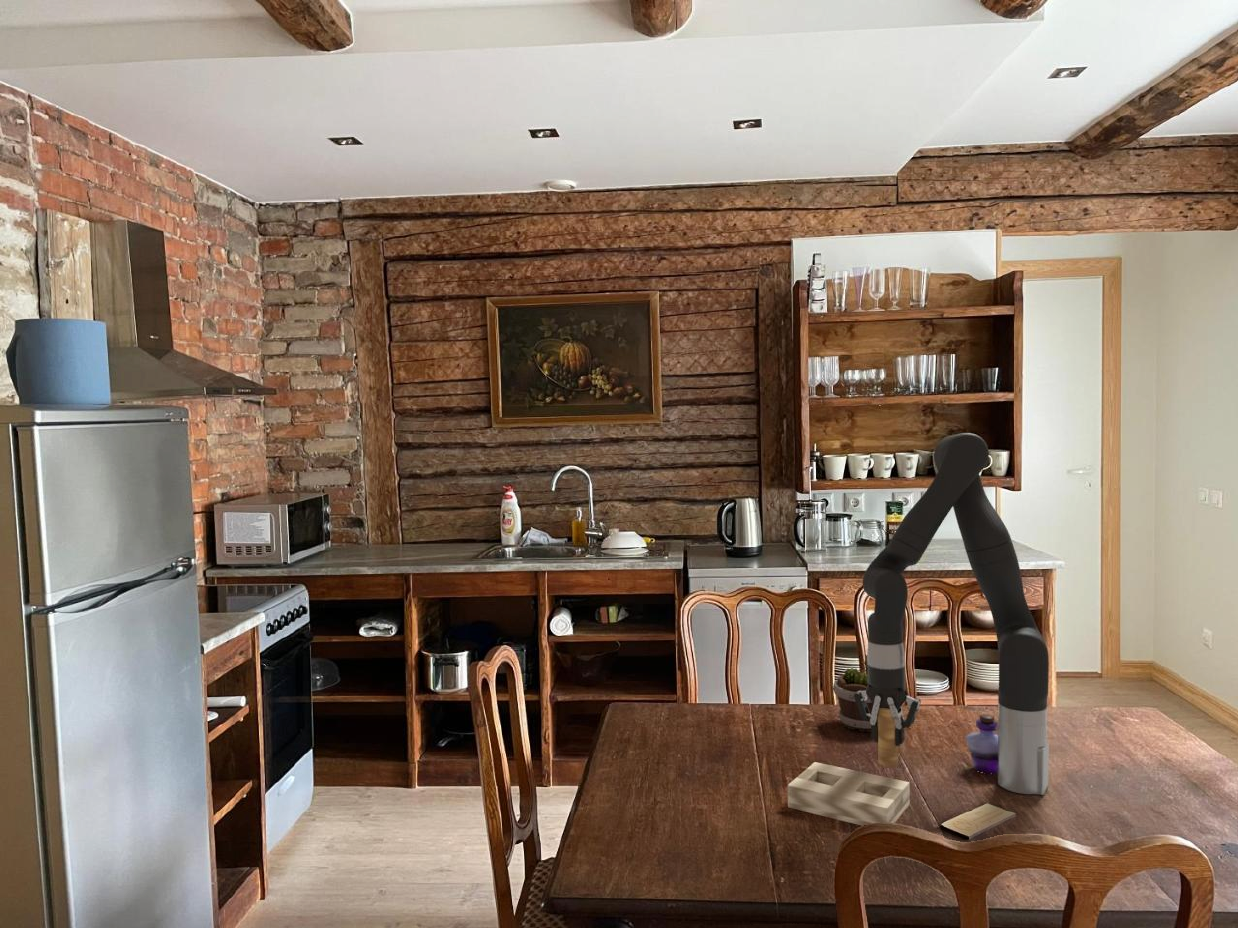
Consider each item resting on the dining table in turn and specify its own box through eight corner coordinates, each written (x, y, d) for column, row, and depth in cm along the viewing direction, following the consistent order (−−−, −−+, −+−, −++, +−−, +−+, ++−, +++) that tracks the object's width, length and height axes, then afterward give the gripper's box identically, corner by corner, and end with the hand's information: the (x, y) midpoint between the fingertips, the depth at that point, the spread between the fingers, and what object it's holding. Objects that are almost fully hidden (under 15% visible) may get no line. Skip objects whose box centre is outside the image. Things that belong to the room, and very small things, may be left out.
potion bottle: (1010, 779, 191) (1010, 724, 190) (966, 775, 193) (966, 720, 193) (1006, 764, 199) (1006, 711, 198) (964, 760, 202) (964, 707, 201)
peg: (900, 761, 189) (899, 705, 189) (895, 767, 186) (893, 710, 185) (881, 757, 192) (880, 702, 191) (876, 764, 188) (874, 707, 188)
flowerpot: (853, 739, 216) (853, 657, 214) (822, 718, 230) (822, 641, 229) (906, 732, 219) (906, 651, 218) (873, 712, 234) (872, 637, 233)
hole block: (909, 804, 180) (909, 782, 180) (887, 831, 168) (887, 808, 168) (814, 782, 191) (814, 761, 191) (787, 806, 180) (787, 784, 179)
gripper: (925, 662, 187) (927, 743, 188) (858, 654, 195) (860, 732, 196) (915, 671, 181) (917, 755, 182) (846, 662, 189) (848, 743, 189)
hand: (887, 742), depth 189 cm, fingers closed on peg, 4 cm apart
